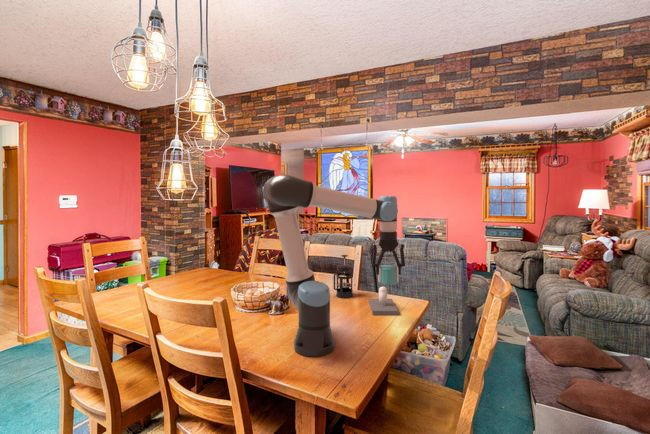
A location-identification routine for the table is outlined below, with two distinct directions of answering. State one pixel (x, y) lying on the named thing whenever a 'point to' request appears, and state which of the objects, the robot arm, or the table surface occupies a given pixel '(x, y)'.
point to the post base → (382, 308)
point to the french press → (344, 288)
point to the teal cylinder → (388, 274)
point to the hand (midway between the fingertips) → (388, 281)
